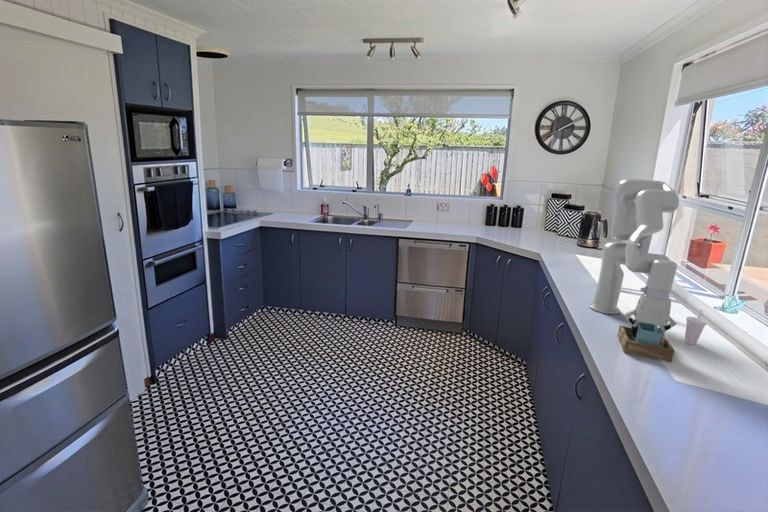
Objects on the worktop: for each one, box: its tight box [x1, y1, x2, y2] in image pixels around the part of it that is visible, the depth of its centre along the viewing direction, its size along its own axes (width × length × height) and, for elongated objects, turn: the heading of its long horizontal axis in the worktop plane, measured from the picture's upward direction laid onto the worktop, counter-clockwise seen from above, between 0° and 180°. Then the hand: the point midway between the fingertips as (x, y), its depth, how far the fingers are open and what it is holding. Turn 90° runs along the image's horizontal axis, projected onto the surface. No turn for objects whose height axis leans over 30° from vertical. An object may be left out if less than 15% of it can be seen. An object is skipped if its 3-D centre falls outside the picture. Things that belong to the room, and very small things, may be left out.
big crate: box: [616, 325, 675, 363], centre depth 155 cm, size 15×15×4 cm
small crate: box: [633, 323, 663, 346], centre depth 154 cm, size 10×7×6 cm
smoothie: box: [684, 309, 708, 346], centre depth 161 cm, size 6×6×14 cm
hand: (645, 337), depth 154 cm, fingers closed on small crate, 7 cm apart
